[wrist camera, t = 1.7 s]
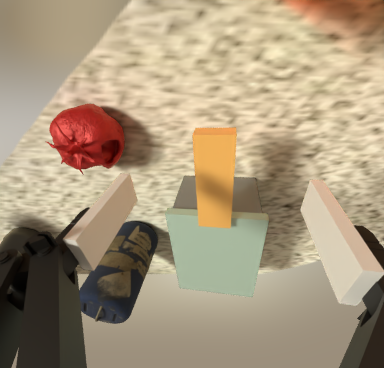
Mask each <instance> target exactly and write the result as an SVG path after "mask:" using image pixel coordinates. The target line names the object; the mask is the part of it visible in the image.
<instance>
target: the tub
mask: <svg viewBox="0 0 384 368" xmlns="http://www.w3.org/2000/svg"><path fill="white" fill-rule="evenodd" d="M173 208H178V209H195V210H198V209H197V194H196V179H195V176H184V178H183V181H182V183H181V186H180V189H179V192H178V194H177V197H176V200H175V203H174V206H173ZM232 212H248V213H262V210H261V204H260V199H259V194H258V189H257V184H256V179H255V178H244V177H234V184H233V199H232Z"/></svg>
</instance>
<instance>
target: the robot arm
mask: <svg viewBox="0 0 384 368" xmlns="http://www.w3.org/2000/svg"><path fill="white" fill-rule="evenodd" d="M137 201H138V200H137V197H136V193H135V190H134V187H133V183H132V180H131V176H130V173H121V174H120V175H119V176H118V177H117V178H116V179H115V180H114V182H113V183H112V184H111V185H110V186H109V187H108V188H107V189H106V191H105V192H104V193H103V194H102V195H101V196H100V197H99V199H98V200H97V201H96V202H95V203H94V204H93V205H92V206H91V208H86V209H84V210H83V211H81V212H80V213H79V214H78V215H77V216H76V217H75V219H73V221H72V222H71V223H70V224H69V225H68V226H67V227H66V228H65V229H64V230H63V231H62V233H61V234H60V235H59V236H58V237H57V238H56V239H54V237H53V236H52V235H51V233H50V232H40V233H39V232H37V231H34V230H31V229H27V228H15V229H13V230H12V231H10V232H9V233H8V234H7V235H6V236H5V237H4V238H3V241H2V242H1V244H0V368H11V367H12V364H13V361H14V358H15V356H16V353H17V350H18V347H19V350H18V357H17V366H16V368H87V366H86V355H85V345H84V335H83V327H82V316H81V306H80V296H79V286H78V276H77V271H76V269H75V268H76V267H77V265H78V264H79V265H80V266H81V268H82V269H84V270H91V271H94V270H95V268H96V267H97V265H98V264H99V262H100V260H101V259H102V257H103V256H104V254H105V252H106V251H107V249H108V247H109V246H110V244H111V243H112V241H113V239H114V238H115V236H116V235H117V233H118V231H119V230H120V228H121V226H122V225H123V223H124V222H125V220H126V218H127V217H128V215H129V213H130V212H131V210H132V209H133V207H134V205H135V204H136V202H137ZM300 211H301V213H302V216H303V218H304V220H305V223H306V225H307V228H308V230H309V232H310V235H311V237H312V240H313V242H314V245H315V247H316V249H317V252H318V254H319V257H320V259H321V262H322V264H323V266H324V269H325V271H326V274H327V276H328V278H329V281H330V283H331V286H332V288H333V291H334V293H335V295H336V298H337V300H338V303H341V304H348V305H355V306H356V305H358V303H360V301H361V300H363V302H364V304H365V306H366V307H367V309H366V310H365V311H364V312H363V313H362V314H361V315H360V316H359V317H358V318H357V319H359V320H360V321H359V324H358V326H357V328H356V331H355V333H354V335H353V337H352V340H351V342H350V344H349V347H348V349H347V351H346V353H345V356H344V358H343V360H342V363H341V365H340V367H339V368H384V248H383V246H382V245H381V244H379V241H378V240H377V238H376V237H375V236H374V234H373V233H371V232H370V231H369V230H368V229H366V228H365V227H364V226H356V225H353V224H352V222H351V221H350V220H349V218H348V217H347V215H346V214H345V212H344V211H343V209H342V208H341V206H340V205H339V203H338V202H337V200H336V199H335V197H334V196H333V194H332V193H331V191H330V190H329V188H328V187H327V185H326V184H325V182H324V181H323V180H311V179H310V182H309V185H308V188H307V191H306V194H305V197H304V200H303V203H302V206H301V209H300Z"/></svg>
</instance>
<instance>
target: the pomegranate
mask: <svg viewBox="0 0 384 368" xmlns="http://www.w3.org/2000/svg"><path fill="white" fill-rule="evenodd" d="M50 133H51V136H52V137H53V142H54V145H52V144H50V143H49V142H47V143H49V145H50V146H51V147H52V148H56V149H57V151H58V152H59V153H60V155H61V157H62V163H63V162H65V163H66V164H67V165H69V166H72V167H74V168H75V169H79V170H80V171H81V172H82V170H81V169H87V168H90V167H93V166H103V167H106V168H108V169H109V168H111V167H113V166H114V165H115V164H116V163H117V162H118V161H119V159H120V157H121V155H122V153H123V150H124V143H125V141H124V133H123V129H122V127H121V125H120V124H119V123H118V122H117V121H116V120H115V119H113V118H112V117H110V116H109V115H107V114H106V113H105V111H104V110H103V109H102V108H101V107H98V106H96V105H94V104H85V105H81V106H77V107H74V108H70V109H67V110H64V111H62V112H61V113H59V114H58V115H57V116H56V118H55V119H54V120H53V121H52V123H51V125H50ZM45 142H46V141H45ZM62 163H61V164H62ZM82 174H83V172H82ZM83 175H84V174H83Z"/></svg>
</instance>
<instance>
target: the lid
mask: <svg viewBox="0 0 384 368" xmlns="http://www.w3.org/2000/svg"><path fill="white" fill-rule="evenodd" d="M236 136H237V134H236V128H195V131H194V133H193V150H194V165H195V179H196V194H197V209H198V210H195V209H178V208H167V211H166V213H165V215H166V220H167V226H168V231H169V236H170V241H171V246H172V251H173V256H174V262H175V267H176V272H177V277H178V282H179V287H180V288H184V289H192V290H199V291H208V292H216V293H223V294H231V295H239V296H247V297H253V293H254V289H255V284H256V279H257V275H258V270H259V265H260V260H261V256H262V251H263V246H264V242H265V237H266V232H267V228H268V223H269V218H268V214H266V213H248V212H232V199H233V184H234V168H235V152H236Z"/></svg>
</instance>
